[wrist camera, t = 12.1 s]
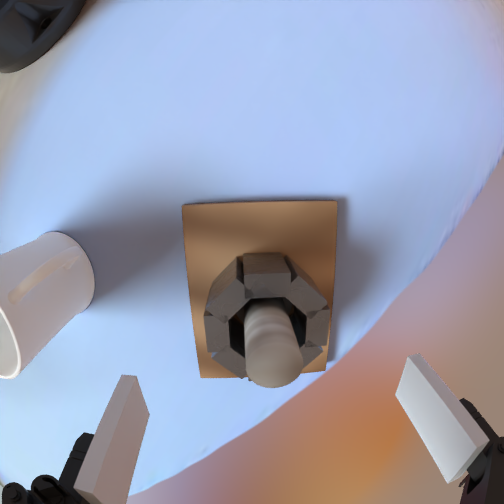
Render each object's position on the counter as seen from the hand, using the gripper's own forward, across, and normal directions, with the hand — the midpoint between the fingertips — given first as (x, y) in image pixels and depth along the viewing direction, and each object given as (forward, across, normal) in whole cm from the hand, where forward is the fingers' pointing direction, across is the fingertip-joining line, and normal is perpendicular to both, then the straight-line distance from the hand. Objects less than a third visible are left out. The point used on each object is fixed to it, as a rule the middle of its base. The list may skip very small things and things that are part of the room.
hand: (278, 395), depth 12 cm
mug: (+14, -18, +2) cm, 23 cm away
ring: (+12, 0, -1) cm, 12 cm away
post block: (+13, 0, -1) cm, 13 cm away
